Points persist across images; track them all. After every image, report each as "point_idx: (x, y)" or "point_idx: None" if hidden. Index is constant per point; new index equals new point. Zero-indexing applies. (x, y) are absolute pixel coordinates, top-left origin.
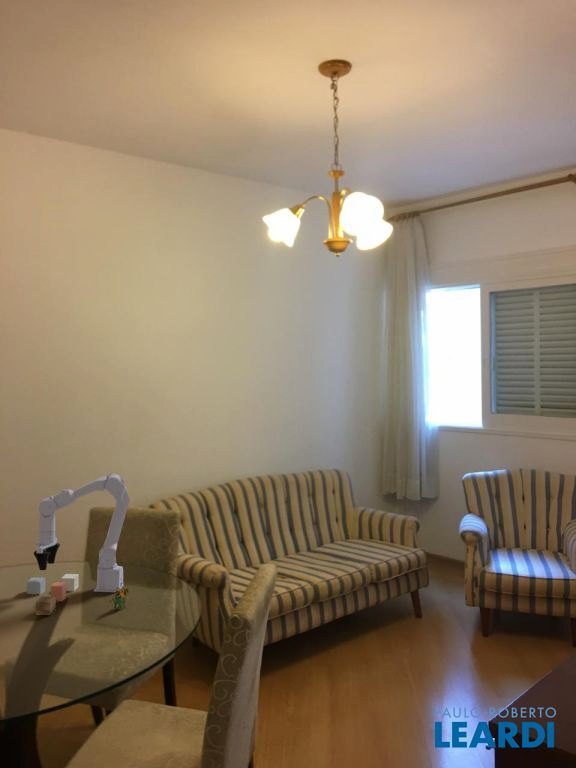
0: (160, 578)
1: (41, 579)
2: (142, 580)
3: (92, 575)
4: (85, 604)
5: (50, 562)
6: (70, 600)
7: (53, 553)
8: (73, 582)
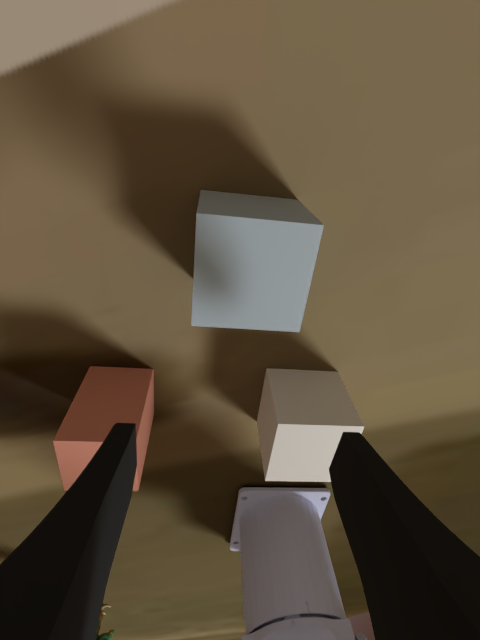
0: (362, 597)
1: (256, 316)
2: (354, 571)
3: (473, 439)
4: None
5: (339, 460)
6: None
7: (376, 590)
8: (262, 457)
